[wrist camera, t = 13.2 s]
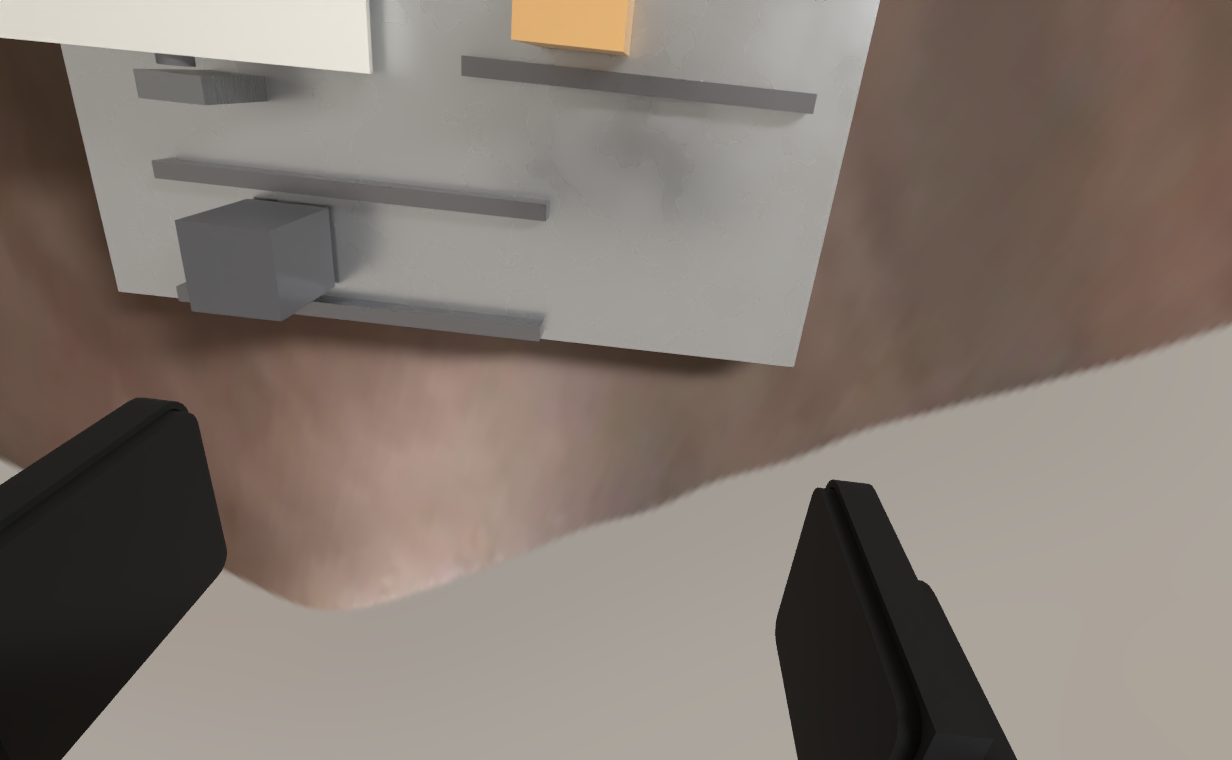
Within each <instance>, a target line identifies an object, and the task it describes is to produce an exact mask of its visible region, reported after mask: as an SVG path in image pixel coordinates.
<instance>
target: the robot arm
mask: <svg viewBox="0 0 1232 760" xmlns="http://www.w3.org/2000/svg"><path fill="white" fill-rule="evenodd" d="M226 557H227V549H226V544H225V539H224V535H223V531H222V526H221V522H220V517H219V513H218V509H217V504H216V500H215V496H214V491H213V487H212V482H211V478H210V474H209V469H208V465H207V460H206V456H205V452H204V447H203V443H202V438H201V434H200V430H199V425H198V422H197V419H196V417H195V416H194V415H193V414H191V413H188V410H187V408H186V407H185V406H184V405H183V404H181V403H179V402H175V401H167V400H158V399H150V398H135V399H133V400H130V401H129V402H127V403H125V404H124V405H122V406H121V407H119V408H118V409H116V410H115V411H113V412H112V413H110V414H109V415H107V416H105V417H104V418H102V419H101V420H99V421H98V422H96V423H95V424H93V425H92V426H90V427H89V428H87V429H86V430H84V431H82V432H81V433H79V434H78V435H76V436H75V437H73V438H72V439H70V440H69V441H67V442H66V443H64V444H62V445H61V446H59V447H58V448H56V449H55V450H53V451H52V452H50V453H49V454H47V455H46V456H44V457H43V458H41V459H39V460H38V461H36V462H35V463H33V464H32V465H30V466H29V467H27V468H26V469H24V470H23V471H21V472H19V473H18V474H16V475H15V476H13V477H12V478H10V479H9V480H7V481H6V482H4V483H3V484H1V485H0V760H61V759H62V758H63V757H64V756H65V755H66V753H67V752H68V751H69V750H70V749H71V747H72V746H73V745H74V744H75V743H76V742H77V740H78V739H79V738H80V737H81V736H82V735H83V733H84V732H85V731H86V730H87V729H88V728H89V726H90V725H91V724H92V723H93V722H94V721H95V719H96V718H97V717H98V716H99V715H100V713H101V712H102V711H103V710H104V709H105V708H106V707H107V705H108V704H109V703H110V702H111V701H112V699H113V698H114V697H115V696H116V695H117V694H118V692H119V691H120V690H121V689H122V687H123V686H124V685H125V684H126V683H127V682H128V681H129V680H130V678H131V677H132V676H133V675H134V674H135V673H136V671H137V670H138V669H139V668H140V666H141V665H142V664H143V663H144V662H145V661H146V660H147V658H148V657H149V656H150V655H151V654H152V653H153V651H154V650H155V649H156V648H157V647H158V646H159V644H160V643H161V642H162V641H163V640H164V639H165V637H166V636H167V635H168V634H169V633H170V632H171V630H172V629H173V628H174V627H175V626H176V624H177V623H178V622H179V621H180V620H181V619H182V617H183V616H184V615H185V614H186V612H187V611H188V610H189V609H190V608H191V607H192V606H193V605H194V603H195V602H196V601H197V600H198V599H199V597H200V596H201V595H202V594H203V593H204V592H205V591H206V589H207V588H208V587H209V586H210V584H211V583H212V582H213V581H214V580H215V579H216V578H217V576H218V575H219V574H220V572H221V571H222V569H223V567H224V565H225V561H226ZM775 636H776V645H777V651H778V656H779V661H780V666H781V671H782V677H783V683H784V688H785V693H786V699H787V704H788V709H789V715H790V719H791V725H792V731H793V736H794V741H795V747H796V752H797V757H798V760H1017V758H1016V756H1015V754H1014V752H1013V750H1012V749H1011V746H1010V744H1009V742H1008V740H1007V738H1006V736H1005V734H1004V732H1003V730H1002V728H1001V726H1000V724H999V722H998V720H997V718H996V716H995V714H994V712H993V710H992V708H991V706H990V704H989V702H988V700H987V698H986V696H985V694H984V692H983V690H982V688H981V686H980V684H979V682H978V680H977V678H976V676H975V674H974V672H973V670H972V668H971V666H970V664H969V662H968V660H967V658H966V656H965V654H964V652H963V650H962V648H961V646H960V644H959V642H958V640H957V638H956V636H955V634H954V632H953V630H952V628H951V626H950V624H949V622H948V620H947V618H946V616H945V614H944V611H943V610H942V607H941V605H940V604H939V602H938V599H937V597H936V596H935V594H934V592H933V591H932V589H931V588H930V586H929V585H928V584H926V583H925V582H923V581H920V580H918V579H917V577H916V575H915V573H914V571H913V569H912V567H911V564H910V562H909V560H908V558H907V556H906V554H905V552H904V550H903V548H902V546H901V544H900V541H899V539H898V537H897V535H896V533H895V531H894V529H893V527H892V525H891V523H890V521H889V518H888V516H887V514H886V512H885V510H884V508H883V506H882V504H881V502H880V500H879V498H878V495H877V493H876V491H875V489H874V488H873V486H872V485H870V484H865V483H857V482H848V481H840V480H831V481H829V483H828V484H827V486H826V488H824V489H823V488H816V489H815V490H814V492H813V494H812V497H811V501H810V504H809V508H808V512H807V515H806V518H805V521H804V525H803V529H802V532H801V535H800V539H799V543H798V546H797V549H796V553H795V556H794V560H793V563H792V567H791V570H790V574H789V577H788V580H787V584H786V587H785V591H784V594H783V598H782V602H781V605H780V608H779V612H778V615H777V620H776V629H775Z"/></svg>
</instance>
